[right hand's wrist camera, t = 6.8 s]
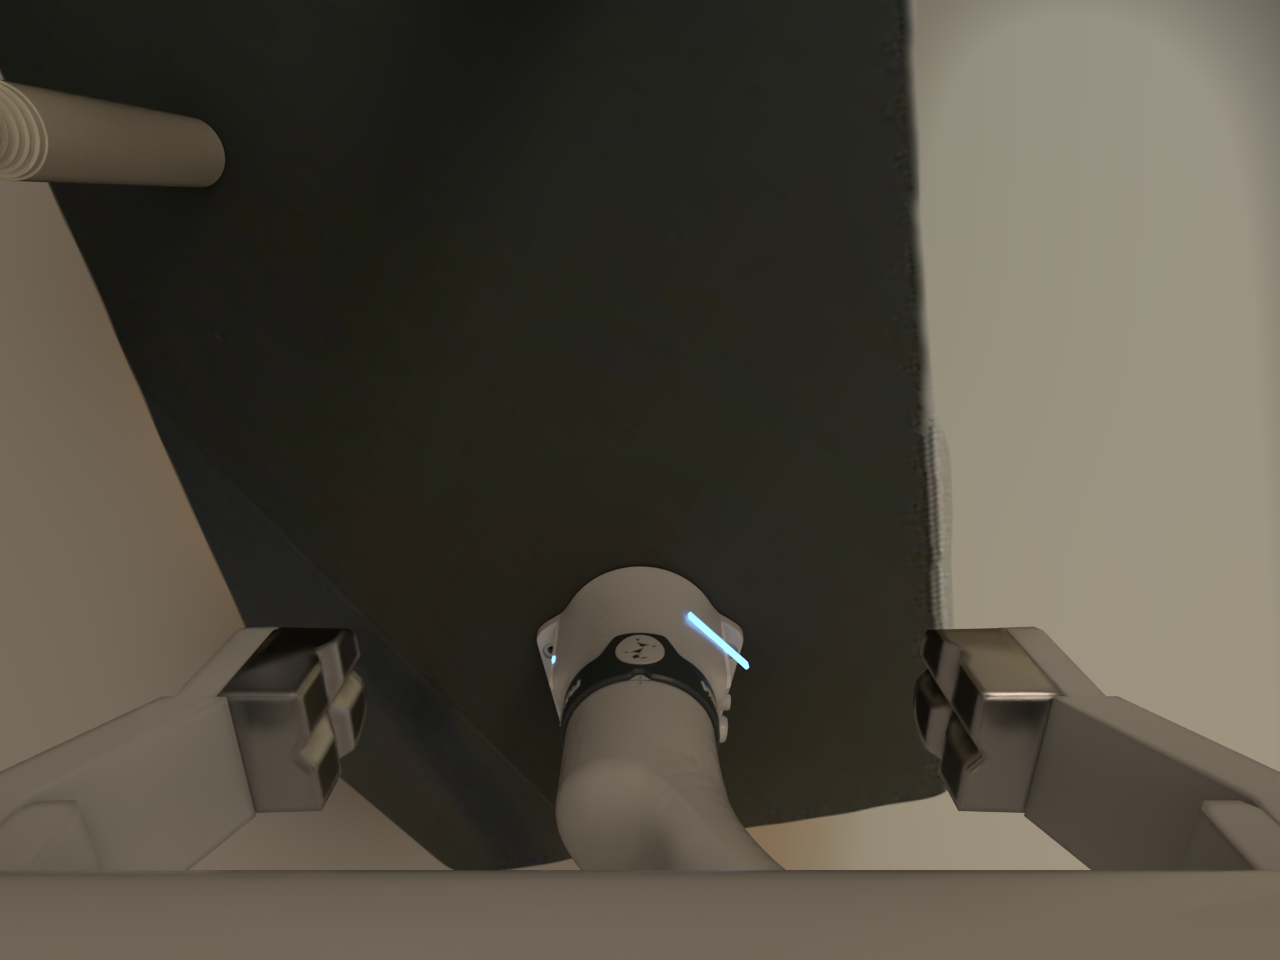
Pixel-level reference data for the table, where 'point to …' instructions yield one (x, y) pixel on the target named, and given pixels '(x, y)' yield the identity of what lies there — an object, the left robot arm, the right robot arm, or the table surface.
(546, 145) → the table surface
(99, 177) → the bottle
